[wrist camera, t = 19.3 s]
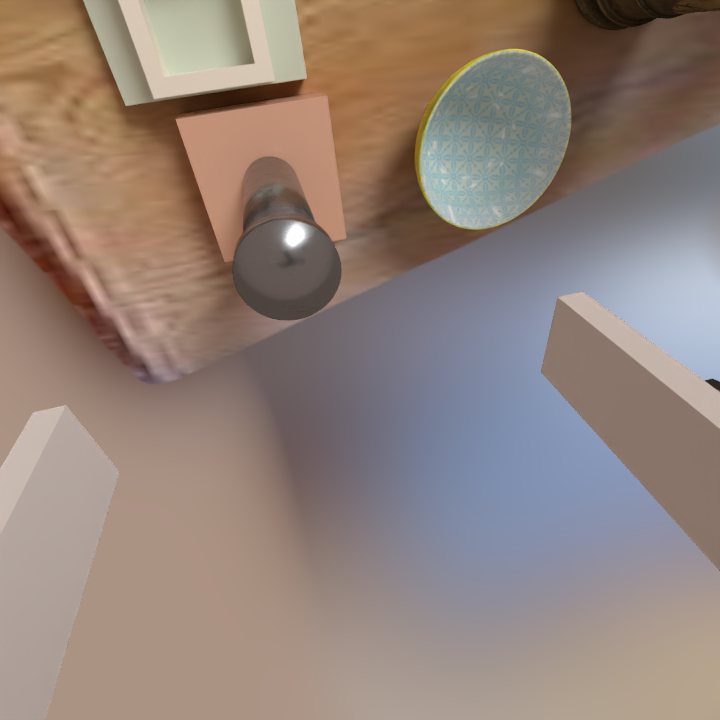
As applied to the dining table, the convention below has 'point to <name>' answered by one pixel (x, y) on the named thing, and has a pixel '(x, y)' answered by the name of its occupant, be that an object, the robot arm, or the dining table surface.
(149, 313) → the dining table surface
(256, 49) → the plate
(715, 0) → the container
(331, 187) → the rest tile
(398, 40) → the dining table surface
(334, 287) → the metal flanged cylinder
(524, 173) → the bowl
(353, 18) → the dining table surface
